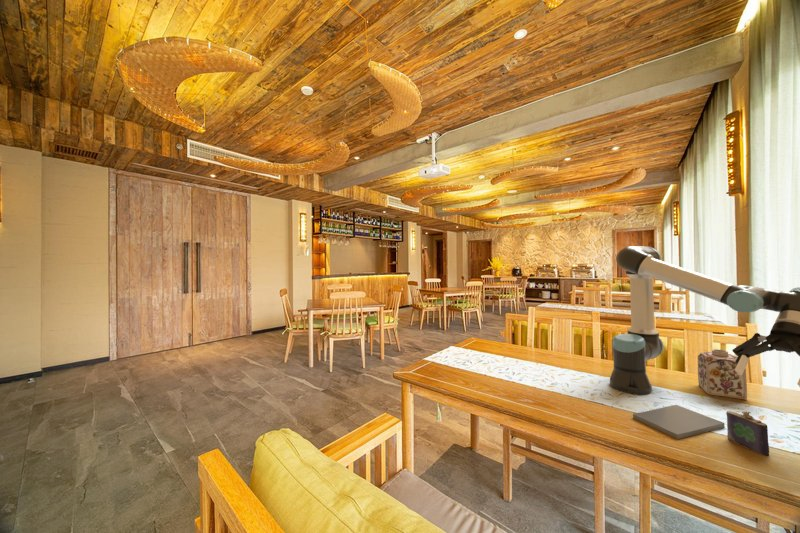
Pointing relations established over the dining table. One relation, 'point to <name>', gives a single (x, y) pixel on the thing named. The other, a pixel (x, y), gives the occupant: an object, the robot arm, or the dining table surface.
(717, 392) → the decorative jar
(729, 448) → the dining table surface
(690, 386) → the dining table surface
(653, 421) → the slate board
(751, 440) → the flask
